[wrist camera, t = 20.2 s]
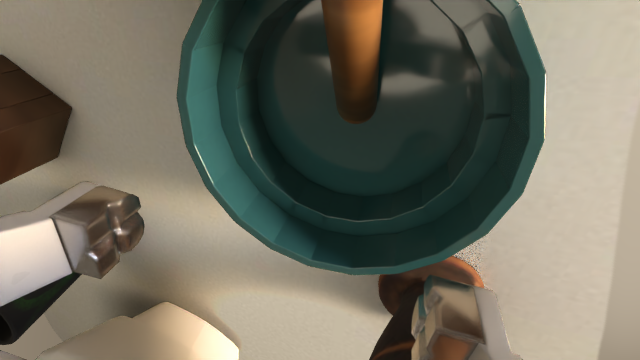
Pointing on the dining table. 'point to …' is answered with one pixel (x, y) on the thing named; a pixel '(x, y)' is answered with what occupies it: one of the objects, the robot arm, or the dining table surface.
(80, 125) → the dining table surface
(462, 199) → the mixing bowl
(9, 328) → the cup
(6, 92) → the holder
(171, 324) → the bowl
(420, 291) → the vase
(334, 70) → the stick
